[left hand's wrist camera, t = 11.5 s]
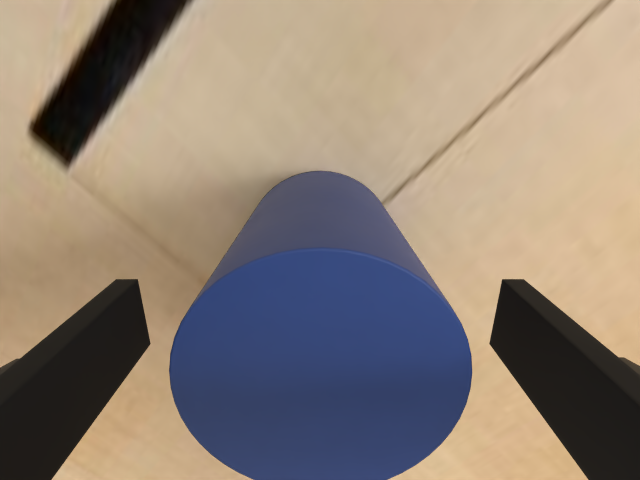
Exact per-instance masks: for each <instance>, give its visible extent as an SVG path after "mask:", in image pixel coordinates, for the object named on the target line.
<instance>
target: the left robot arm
mask: <svg viewBox="0 0 640 480" xmlns="http://www.w3.org/2000/svg"><path fill="white" fill-rule="evenodd" d="M149 345H150V339H149V334H148V329H147V324H146V319H145V314H144V309H143V304H142V299H141V294H140V289H139V284H138V279H116V280H115V281H114V282H113V283H111V284H110V285H109V286H108V287H106V288H105V289H104V290H103V291H102V292H100V293H99V294H98V295H97V296H96V297H94V298H93V299H92V300H91V301H89V302H88V303H87V304H86V305H85V306H83V307H82V308H81V309H80V310H79V311H77V312H76V313H75V314H74V315H73V316H71V317H70V318H69V319H68V320H66V321H65V322H64V323H63V324H62V325H60V326H59V327H58V328H57V329H56V330H54V331H53V332H52V333H51V334H49V335H48V336H47V337H46V338H45V339H43V340H42V341H41V342H40V343H39V344H37V345H36V346H35V347H34V348H32V349H31V350H30V351H29V352H28V353H26V354H25V355H24V356H23V357H22V358H20V359H15V360H13V361H12V362H10V363H8V364H6V365H4V366H2V367H1V368H0V480H52V478H53V477H54V475H55V474H56V473H57V471H58V470H59V469H60V467H61V466H62V464H63V463H64V462H65V460H66V459H67V458H68V456H69V455H70V453H71V452H72V451H73V449H74V448H75V447H76V445H77V444H78V442H79V441H80V440H81V438H82V437H83V436H84V434H85V433H86V432H87V430H88V429H89V427H90V426H91V425H92V423H93V422H94V421H95V419H96V418H97V416H98V415H99V414H100V412H101V411H102V410H103V408H104V407H105V405H106V404H107V403H108V401H109V400H110V399H111V397H112V396H113V395H114V393H115V392H116V390H117V389H118V388H119V386H120V385H121V384H122V382H123V381H124V379H125V378H126V377H127V375H128V374H129V373H130V371H131V370H132V368H133V367H134V366H135V364H136V363H137V362H138V360H139V359H140V358H141V356H142V355H143V353H144V352H145V351H146V349H147V348H148V347H149ZM490 345H491V347H492V348H493V349H494V351H495V352H496V353H497V355H498V356H499V358H500V359H501V360H502V362H503V363H504V364H505V366H506V367H507V368H508V370H509V371H510V373H511V374H512V375H513V377H514V378H515V379H516V381H517V382H518V384H519V385H520V386H521V388H522V389H523V390H524V392H525V393H526V395H527V396H528V397H529V399H530V400H531V401H532V403H533V404H534V405H535V407H536V408H537V410H538V411H539V412H540V414H541V415H542V416H543V418H544V419H545V421H546V422H547V423H548V425H549V426H550V427H551V429H552V430H553V432H554V433H555V434H556V436H557V437H558V438H559V440H560V441H561V442H562V444H563V445H564V447H565V448H566V449H567V451H568V452H569V453H570V455H571V456H572V458H573V459H574V460H575V462H576V463H577V464H578V466H579V467H580V469H581V470H582V471H583V473H584V474H585V475H586V477H587V478H588V480H640V366H639V365H637V364H635V363H633V362H631V361H629V360H627V359H626V358H618V357H617V356H616V355H615V354H614V353H612V352H611V351H610V350H609V349H608V348H606V347H605V346H604V345H603V344H601V343H600V342H599V341H598V340H597V339H595V338H594V337H593V336H592V335H591V334H589V333H588V332H587V331H586V330H584V329H583V328H582V327H581V326H580V325H578V324H577V323H576V322H575V321H574V320H572V319H571V318H570V317H569V316H567V315H566V314H565V313H564V312H563V311H561V310H560V309H559V308H558V307H557V306H555V305H554V304H553V303H552V302H551V301H549V300H548V299H547V298H546V297H544V296H543V295H542V294H541V293H540V292H538V291H537V290H536V289H535V288H534V287H532V286H531V285H530V284H529V283H527V282H526V281H525V280H524V279H502V284H501V289H500V294H499V299H498V304H497V309H496V314H495V319H494V324H493V329H492V334H491V339H490Z"/></svg>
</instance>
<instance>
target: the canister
mask: <svg viewBox="0 0 640 480" xmlns="http://www.w3.org/2000/svg"><path fill="white" fill-rule="evenodd" d="M169 373H170V384H171V390H172V394H173V398H174V402H175V404H176V407H177V409H178V411H179V414H180V416H181V418H182V420H183V421H184V423H185V425H186V426H187V428H188V430H189V431H190V432H191V434H192V435H193V436H194V437H195V438H196V440H197V441H198V442H199V443H200V444H201V445H202V446H203V447H204V448H205V449H206V450H207V451H208V452H209V453H210V454H211V455H213V456H214V457H215V458H217V459H218V460H219V461H221V462H222V463H223V464H225V465H226V466H228V467H230V468H232V469H233V470H235V471H237V472H238V473H241V474H243V475H245V476H247V477H249V478H251V479H254V480H387V479H390V478H392V477H394V476H396V475H399V474H401V473H403V472H404V471H406V470H408V469H410V468H411V467H413V466H415V465H416V464H418V463H419V462H421V461H422V460H423V459H425V458H426V457H427V456H429V455H430V454H431V453H432V452H433V451H434V450H435V449H436V448H437V447H438V446H440V445H441V444H442V442H443V441H444V440H445V439H446V438H447V436H448V435H449V434H450V433H451V431H452V430H453V428H454V427H455V425H456V424H457V422H458V420H459V419H460V417H461V414H462V412H463V410H464V408H465V405H466V403H467V399H468V395H469V392H470V387H471V378H472V361H471V352H470V348H469V343H468V339H467V336H466V334H465V331H464V329H463V326H462V324H461V322H460V320H459V319H458V317H457V315H456V314H455V312H454V310H453V309H452V307H451V306H450V304H449V303H448V301H447V300H446V298H445V297H444V295H443V294H442V292H441V291H440V289H439V288H438V287H437V285H436V284H435V282H434V281H433V279H432V278H431V276H430V275H429V273H428V272H427V270H426V269H425V267H424V266H423V264H422V263H421V261H420V260H419V258H418V257H417V255H416V254H415V252H414V251H413V249H412V248H411V247H410V245H409V244H408V242H407V241H406V239H405V238H404V236H403V235H402V233H401V232H400V230H399V229H398V227H397V226H396V224H395V223H394V221H393V220H392V218H391V217H390V215H389V214H388V212H387V211H386V209H385V208H384V207H383V205H382V204H381V202H380V201H379V199H378V198H377V197H376V196H375V195H374V193H373V192H371V191H370V190H369V189H368V188H367V187H366V186H364V185H363V184H362V183H360V182H359V181H357V180H355V179H353V178H351V177H348V176H345V175H343V174H339V173H334V172H327V171H313V172H306V173H301V174H298V175H295V176H292V177H290V178H288V179H286V180H284V181H282V182H281V183H279V184H278V185H276V186H275V187H274V188H272V189H271V190H270V191H269V192H268V193H267V194H266V195H265V196H264V198H263V199H262V200H261V202H260V203H259V205H258V206H257V208H256V209H255V211H254V212H253V214H252V215H251V217H250V218H249V220H248V221H247V223H246V224H245V226H244V227H243V229H242V230H241V232H240V233H239V235H238V236H237V238H236V239H235V241H234V242H233V244H232V245H231V247H230V248H229V250H228V251H227V253H226V254H225V256H224V257H223V259H222V260H221V262H220V263H219V265H218V266H217V268H216V269H215V271H214V272H213V274H212V275H211V277H210V278H209V280H208V281H207V283H206V284H205V286H204V287H203V289H202V290H201V292H200V293H199V295H198V296H197V298H196V299H195V301H194V302H193V304H192V305H191V307H190V308H189V310H188V312H187V313H186V315H185V316H184V318H183V320H182V321H181V323H180V326H179V328H178V330H177V333H176V335H175V337H174V341H173V346H172V350H171V354H170V368H169Z"/></svg>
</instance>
